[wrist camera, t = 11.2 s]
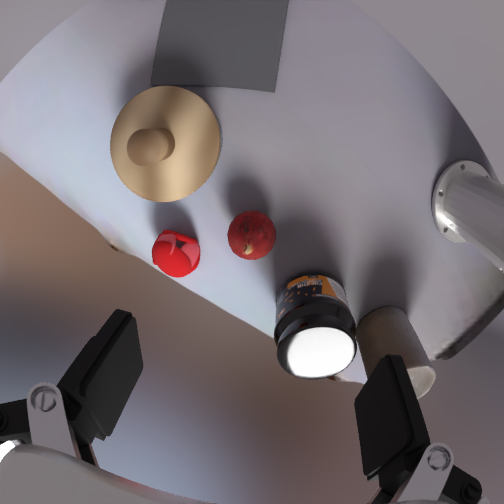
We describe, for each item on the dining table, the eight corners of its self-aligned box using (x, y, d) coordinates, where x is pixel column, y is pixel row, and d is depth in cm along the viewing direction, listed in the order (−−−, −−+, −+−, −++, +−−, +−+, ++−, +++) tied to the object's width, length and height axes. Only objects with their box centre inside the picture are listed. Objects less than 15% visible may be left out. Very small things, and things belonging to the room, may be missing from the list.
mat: (289, -6, 23) (289, -8, 23) (274, 92, 30) (274, 91, 29) (171, -7, 24) (169, -9, 23) (152, 85, 30) (150, 85, 30)
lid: (228, 88, 25) (217, 80, 20) (214, 206, 31) (202, 221, 26) (119, 89, 25) (94, 86, 21) (113, 194, 31) (90, 206, 27)
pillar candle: (346, 344, 45) (361, 416, 31) (370, 300, 40) (399, 372, 27) (391, 351, 45) (413, 415, 31) (417, 309, 41) (452, 374, 27)
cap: (149, 220, 35) (134, 263, 35) (184, 231, 33) (168, 278, 33) (180, 235, 43) (167, 272, 42) (212, 245, 41) (198, 285, 40)
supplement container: (348, 267, 39) (369, 319, 28) (340, 324, 43) (352, 381, 32) (275, 267, 40) (272, 321, 29) (276, 325, 44) (272, 383, 33)
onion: (231, 204, 37) (218, 225, 29) (275, 203, 36) (273, 223, 29) (235, 245, 39) (224, 274, 32) (277, 244, 38) (275, 273, 31)
